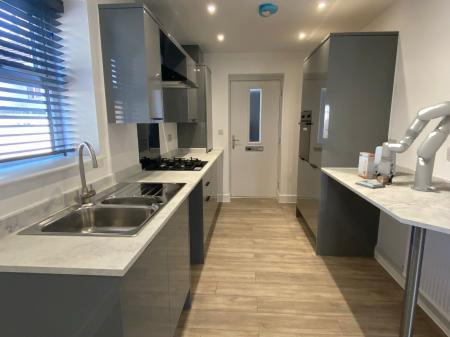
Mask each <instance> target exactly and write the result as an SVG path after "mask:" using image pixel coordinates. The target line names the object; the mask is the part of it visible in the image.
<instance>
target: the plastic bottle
mask: <svg viewBox="0 0 450 337" xmlns="http://www.w3.org/2000/svg"><path fill="white" fill-rule="evenodd" d="M382 146H383V143H382V145H381V146H376V147H375V153H374V154H375V160H374V169H373V176H377V175H376V172H375V168H377V167H378V165H379V162H380V160H381V154H382ZM393 158H394V160H393V161H394V171H395V172H396V167H397V165H396V163H397V161H396V160H397V153H393ZM380 175H381V176H388V175H387V174H382V173H381V174H380ZM392 175H393V174H392Z"/></svg>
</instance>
